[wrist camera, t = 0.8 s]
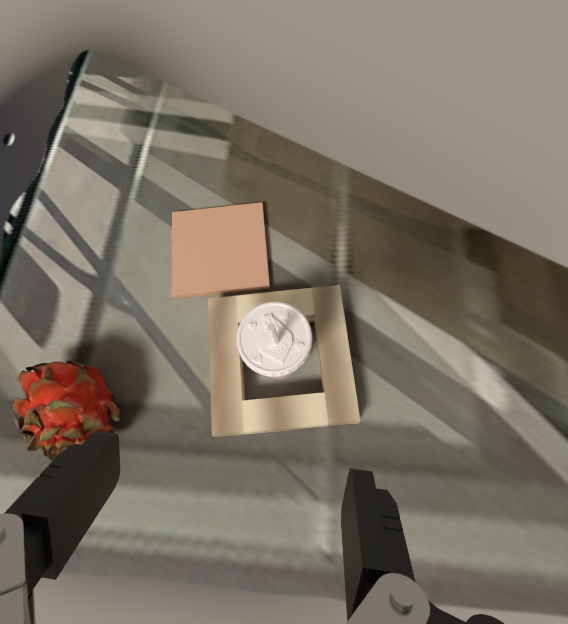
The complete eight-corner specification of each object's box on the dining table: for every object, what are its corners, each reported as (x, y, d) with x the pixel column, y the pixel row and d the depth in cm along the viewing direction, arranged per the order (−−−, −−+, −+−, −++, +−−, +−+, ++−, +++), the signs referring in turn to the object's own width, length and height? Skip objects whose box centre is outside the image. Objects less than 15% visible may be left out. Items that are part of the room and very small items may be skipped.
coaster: (262, 206, 48) (262, 202, 48) (270, 288, 45) (269, 285, 44) (174, 216, 49) (172, 212, 48) (173, 298, 45) (171, 296, 44)
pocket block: (338, 293, 44) (339, 284, 42) (357, 423, 39) (360, 421, 37) (213, 306, 44) (208, 298, 42) (217, 437, 40) (212, 436, 37)
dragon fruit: (127, 462, 41) (68, 387, 46) (154, 401, 38) (88, 328, 43) (40, 502, 34) (-19, 408, 38) (65, 430, 31) (-2, 339, 35)
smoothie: (260, 400, 41) (238, 375, 27) (244, 342, 43) (216, 294, 30) (319, 381, 41) (325, 347, 28) (300, 325, 43) (297, 268, 30)
